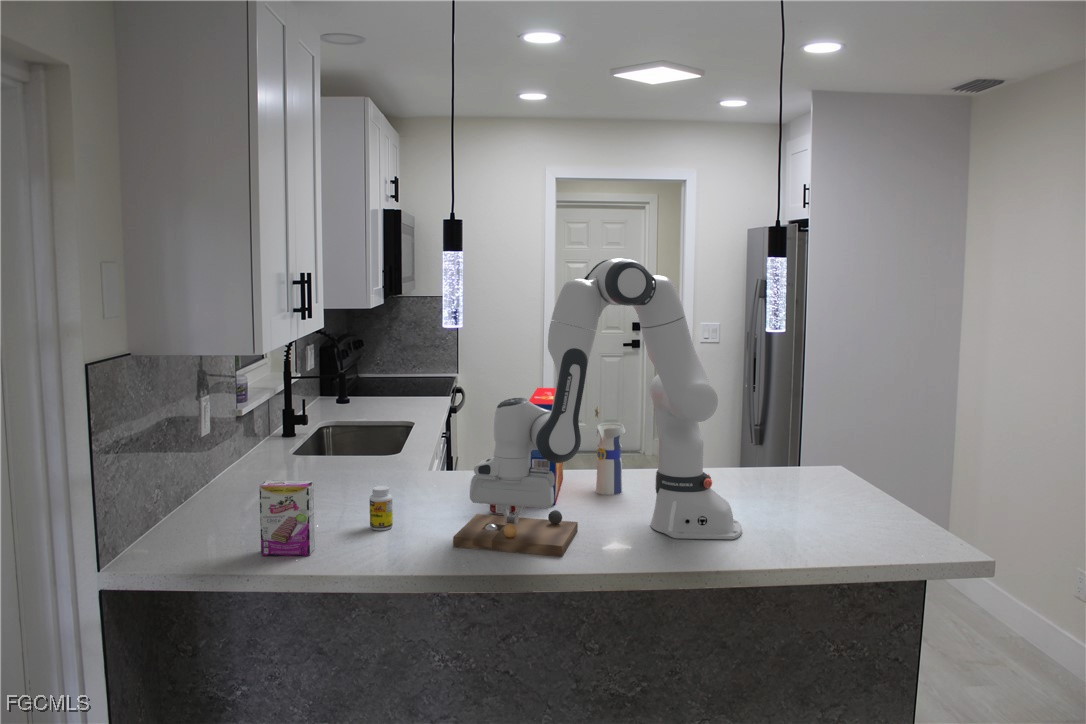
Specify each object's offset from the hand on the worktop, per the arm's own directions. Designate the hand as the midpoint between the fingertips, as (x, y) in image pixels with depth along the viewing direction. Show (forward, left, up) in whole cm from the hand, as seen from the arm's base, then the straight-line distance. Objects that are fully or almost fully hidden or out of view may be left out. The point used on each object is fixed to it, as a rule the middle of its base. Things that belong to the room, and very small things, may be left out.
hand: (511, 522), depth 205 cm
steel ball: (+5, 0, -2) cm, 6 cm away
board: (-1, 0, -4) cm, 4 cm away
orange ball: (-1, +6, 0) cm, 6 cm away
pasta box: (+2, -43, -4) cm, 43 cm away
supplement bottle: (+34, 0, -4) cm, 34 cm away
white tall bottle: (-16, -47, -4) cm, 50 cm away
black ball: (-9, -6, 0) cm, 11 cm away
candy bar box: (+47, +22, -4) cm, 52 cm away
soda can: (+8, -19, -4) cm, 21 cm away
